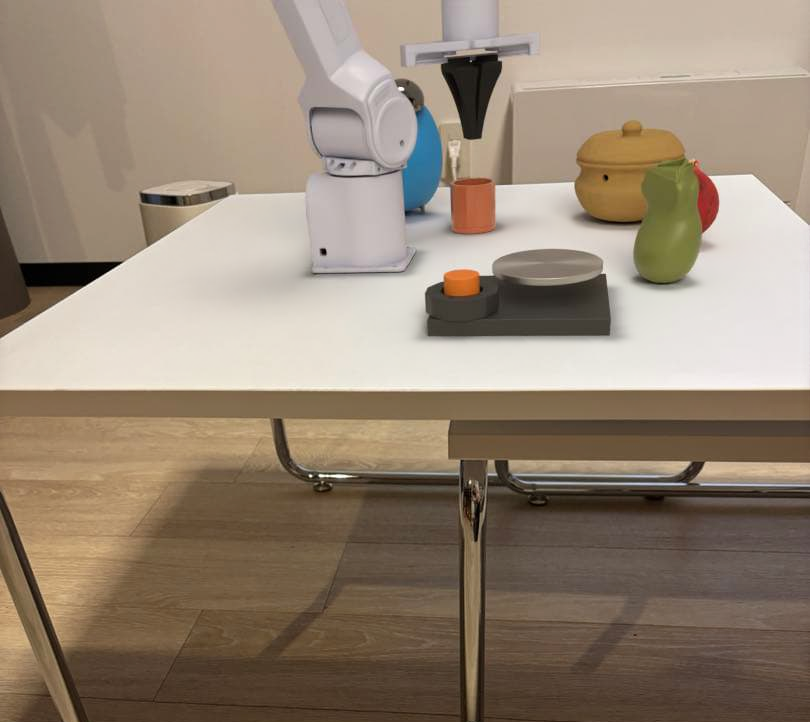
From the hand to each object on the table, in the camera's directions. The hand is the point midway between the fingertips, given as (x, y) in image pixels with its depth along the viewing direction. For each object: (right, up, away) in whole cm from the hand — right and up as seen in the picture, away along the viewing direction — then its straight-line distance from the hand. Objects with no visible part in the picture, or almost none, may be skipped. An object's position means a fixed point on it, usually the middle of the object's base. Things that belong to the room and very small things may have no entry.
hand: (472, 138), depth 89 cm
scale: (+2, -24, -20) cm, 32 cm away
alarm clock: (-9, -2, +15) cm, 18 cm away
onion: (+21, -14, -6) cm, 26 cm away
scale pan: (+4, -21, -21) cm, 30 cm away
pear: (+16, -21, -16) cm, 30 cm away
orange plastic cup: (+1, -8, +6) cm, 10 cm away
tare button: (-3, -24, -24) cm, 34 cm away
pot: (+18, -7, +5) cm, 20 cm away
